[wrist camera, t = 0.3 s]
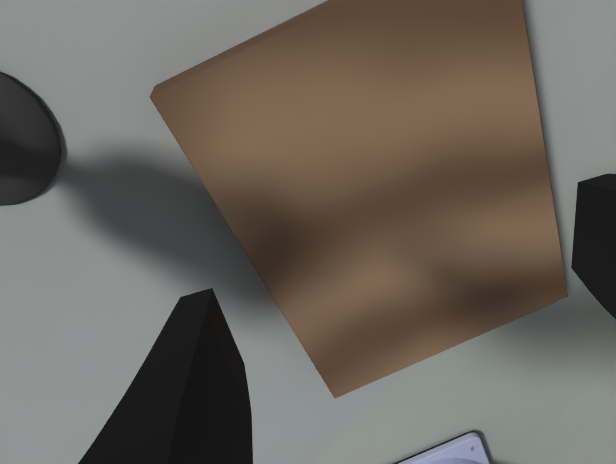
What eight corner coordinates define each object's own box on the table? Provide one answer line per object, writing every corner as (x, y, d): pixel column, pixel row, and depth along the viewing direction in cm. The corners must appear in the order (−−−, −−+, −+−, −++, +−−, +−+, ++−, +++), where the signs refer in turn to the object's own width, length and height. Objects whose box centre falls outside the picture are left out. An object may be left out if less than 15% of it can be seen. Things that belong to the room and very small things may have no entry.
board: (548, 277, 24) (567, 296, 22) (328, 375, 24) (334, 398, 23) (484, -77, 15) (509, -81, 14) (154, 86, 16) (149, 96, 15)
